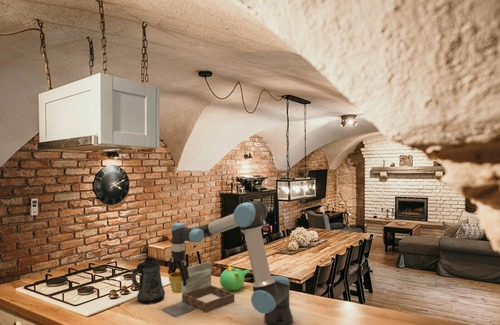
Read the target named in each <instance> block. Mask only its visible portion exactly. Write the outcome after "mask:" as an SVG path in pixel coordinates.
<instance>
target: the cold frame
mask: <svg viewBox="0 0 500 325" xmlns="http://www.w3.org/2000/svg"><path fill="white" fill-rule="evenodd" d="M187 269H188V275H189V279H187V281H186V291H185V292H182V293H181V302H183V303H185V304H187V305H190V306H192V307H194V308H196V309H195V310H199V311H201V312H203V313H205V314H206V313H209V312H211V311H215V310H217V309H219V308H220V309H221V308H222V307H225V306H227V305H229V304H233V303H234V302H235V293H234V292H233V291H232V292H231V291H230V290H226V289H224V288H221V287H218V286H215V285H212V261H207V262H203V263H199V264H195V265H191V266H187ZM207 295H214V296H217V297H219V298H216V299H213V300H210V301H208V302H205V301H204V300H203V301H202V300H200V298H202V297H205V296H207Z"/></svg>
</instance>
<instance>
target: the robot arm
mask: <svg viewBox="0 0 500 325" xmlns="http://www.w3.org/2000/svg"><path fill="white" fill-rule="evenodd" d="M267 215H268V207H267V206H266V204H265V203H264V202H262V201H260V200H251V201H246V202H243V203H240V204H238V205H237V206H236V208H235V209H234V212H233V213H232V214H228V215H227V216H226V215H225V216H224V217H221V218H219V219H216V220H214V221H211V222H209V223H206V224H203V225H199V226H195V227H186V224H185V223H183V222H175V223H173V224H172V225H171V231H170V232H171V257H169V264H168V265H169V266H168V270H167V274H168V275H169V274H171V273H173V272H177V269H178V270H179V272H180V273H181V277H182V280H181V292H185V291H186V280H187V279H189V275H188V269H187V267H188V261H187V260H186V261H185V260H184V258H185V257H186V245H185V244H186V242H189V243H201V242H202V241H203V239H206V238H210V237H212V236H214V235H218V234H220V233H223V232H226V231H229V230H231V229H234V228H237V227H239V228H240V232H242V233H243V234H244V237H245V244H246V247H247V248H246V249H247V253H248V257H249V261H250V266H251V271H252V276H253V280H254V281H253V283H252V290H253V293H252V295H251V297H250V298H251V299H250V303H251V304H252V307H253V308H254V310H256V311H257V312H258V313H261V314H264V316H263V317H264V318H263V321H264V323H265V325H292V324H293V322H294V317H293V314H292V311H291V307H290V285H291V284H290V279H289V278H288V277H286V276H281V275H271V270H270V266H269V262H268V256H267V252H266V247H265V243H264V238H263V234H262V233H263V232H262V229H263V227H264V225H263V221H265V219H266V218H267Z"/></svg>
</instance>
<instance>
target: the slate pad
mask: <svg viewBox="0 0 500 325" xmlns="http://www.w3.org/2000/svg"><path fill="white" fill-rule="evenodd" d="M160 310H161V311H162V312H165V313H167V314H168V315H170V316H172V317H174V318H176V317H179V316H182V315H185V314H187V313H189V312H192V311H195V310H197V309H196V308H194V307H192V306H190V305H188V304H185V303H183V302H182V301H180V302H177V303H174V304H171V305H168V306H165V307H163V308H160Z"/></svg>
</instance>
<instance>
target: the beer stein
mask: <svg viewBox="0 0 500 325" xmlns="http://www.w3.org/2000/svg"><path fill="white" fill-rule="evenodd" d="M138 274H140V277H139V278H140V280H139V282H138V281H137V278H136V277H137V276H138ZM130 276H131V279H130V280H131V282H132V284H133V285H134V286H135V287H136V288H137V289H138V293H137V295H136V296H137V301H138V303H139V304H141V305H154V304H155V305H156V304H158V303H160V302H162V301H164V299H165V295H166V291H165V289H164V286H163V282H162V276H161V263H159V262H158V261H157V260H155V259H154V258H152V257H150V258H149V257H148V258H146V259H144V261H143V262H141V263H138V264H137V265H136V268H135V269H133V271H132V272H131V275H130Z"/></svg>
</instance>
